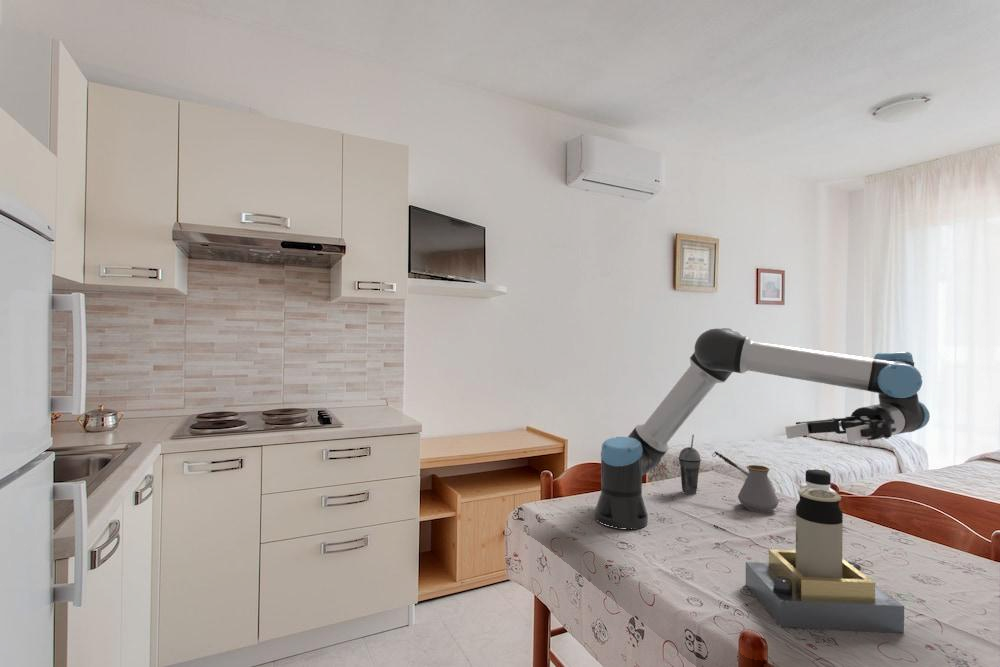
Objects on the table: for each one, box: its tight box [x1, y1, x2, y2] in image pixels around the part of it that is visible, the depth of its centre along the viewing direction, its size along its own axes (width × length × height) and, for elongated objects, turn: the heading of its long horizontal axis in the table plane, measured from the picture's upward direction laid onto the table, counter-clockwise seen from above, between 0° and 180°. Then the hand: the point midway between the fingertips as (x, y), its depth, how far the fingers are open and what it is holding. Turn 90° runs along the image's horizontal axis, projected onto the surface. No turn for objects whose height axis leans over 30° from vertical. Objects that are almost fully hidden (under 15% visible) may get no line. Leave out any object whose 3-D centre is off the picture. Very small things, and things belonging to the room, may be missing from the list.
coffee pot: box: [712, 451, 779, 513], centre depth 163 cm, size 21×12×15 cm, turn 33°
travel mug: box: [795, 488, 844, 578], centre depth 102 cm, size 8×8×18 cm
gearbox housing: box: [745, 548, 905, 633], centre depth 102 cm, size 22×16×8 cm
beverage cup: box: [678, 434, 702, 495], centre depth 174 cm, size 7×7×20 cm
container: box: [799, 468, 838, 494], centre depth 156 cm, size 8×8×13 cm
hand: (816, 433), depth 109 cm, fingers open, 13 cm apart
